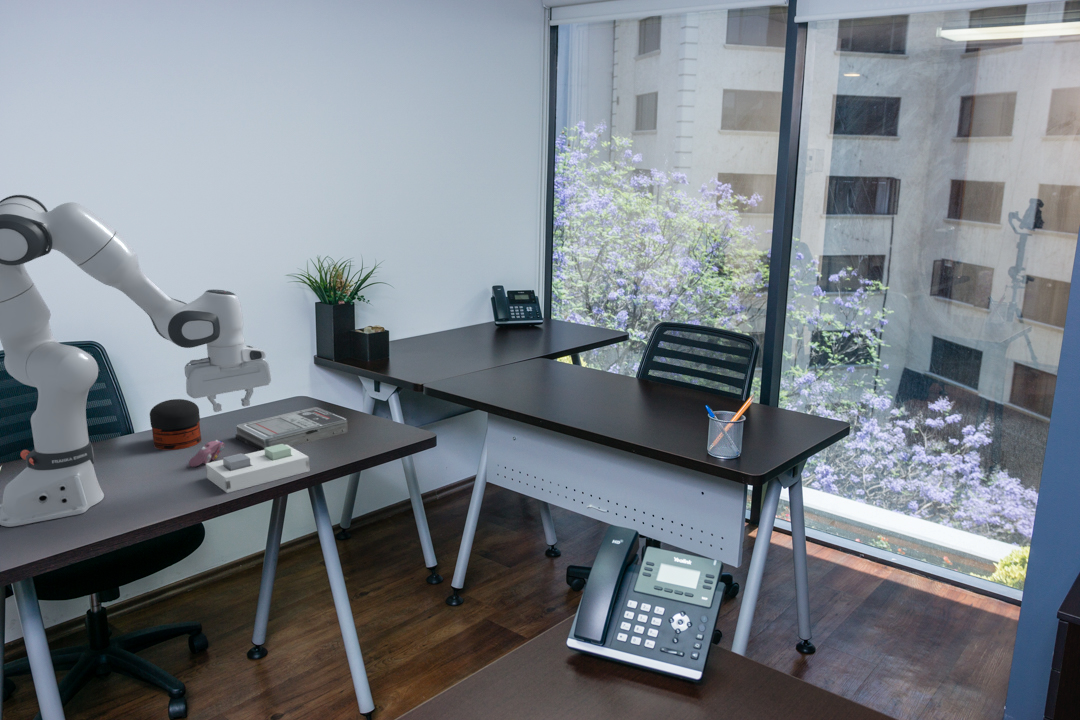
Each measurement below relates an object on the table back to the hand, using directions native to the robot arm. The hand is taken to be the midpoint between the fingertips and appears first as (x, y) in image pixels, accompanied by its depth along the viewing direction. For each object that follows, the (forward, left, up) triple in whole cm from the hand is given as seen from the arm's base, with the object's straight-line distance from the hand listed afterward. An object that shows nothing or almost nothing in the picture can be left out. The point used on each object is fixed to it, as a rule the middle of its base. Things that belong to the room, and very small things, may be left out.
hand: (231, 408), depth 202 cm
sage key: (+11, 0, -16) cm, 20 cm away
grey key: (0, 0, -16) cm, 16 cm away
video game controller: (-1, +18, -20) cm, 27 cm away
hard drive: (+27, +24, -20) cm, 41 cm away
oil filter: (-2, +40, -20) cm, 45 cm away
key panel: (+5, 0, -19) cm, 20 cm away
